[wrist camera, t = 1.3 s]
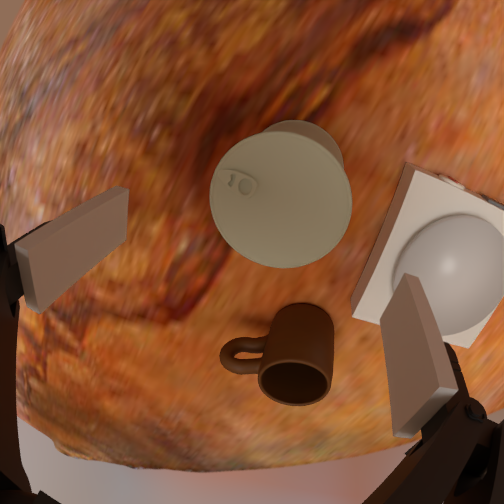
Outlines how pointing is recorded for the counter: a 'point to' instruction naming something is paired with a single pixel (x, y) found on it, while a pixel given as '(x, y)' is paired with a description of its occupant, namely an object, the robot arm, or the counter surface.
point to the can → (282, 195)
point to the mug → (289, 356)
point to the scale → (438, 254)
